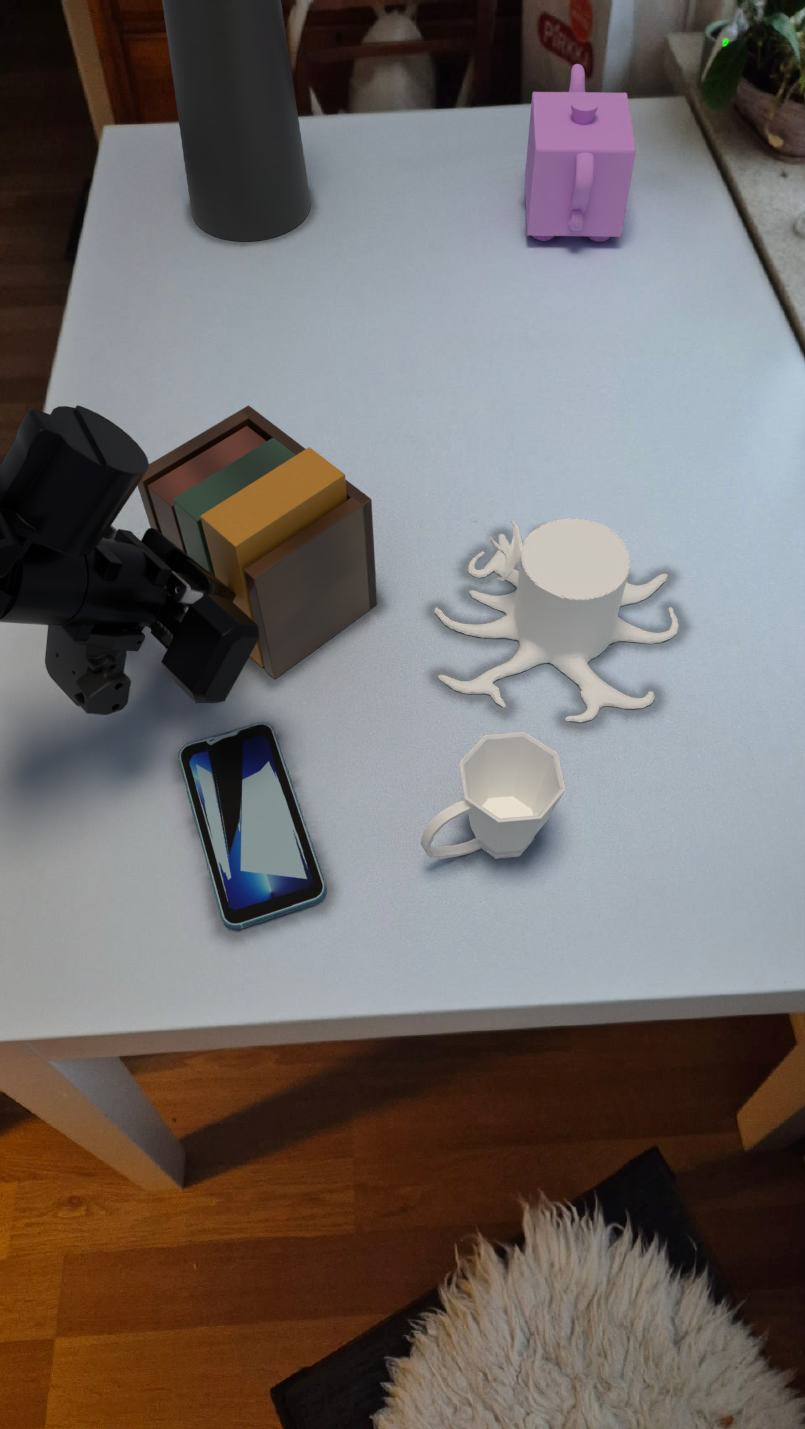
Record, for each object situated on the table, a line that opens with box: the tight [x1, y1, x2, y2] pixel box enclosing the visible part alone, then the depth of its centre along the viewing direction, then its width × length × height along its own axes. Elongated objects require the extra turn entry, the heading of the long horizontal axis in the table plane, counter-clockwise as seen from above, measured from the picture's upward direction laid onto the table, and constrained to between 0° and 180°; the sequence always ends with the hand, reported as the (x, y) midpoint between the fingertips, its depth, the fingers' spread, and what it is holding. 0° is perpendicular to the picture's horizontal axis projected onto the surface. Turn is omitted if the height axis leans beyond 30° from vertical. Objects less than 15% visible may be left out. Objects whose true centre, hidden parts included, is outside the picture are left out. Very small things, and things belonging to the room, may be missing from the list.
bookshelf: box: [137, 405, 378, 680], centre depth 79 cm, size 11×14×13 cm
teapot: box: [524, 63, 637, 243], centre depth 109 cm, size 20×10×12 cm, turn 177°
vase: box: [161, 0, 311, 242], centre depth 104 cm, size 14×14×29 cm
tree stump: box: [433, 517, 680, 723], centre depth 78 cm, size 20×19×8 cm
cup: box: [420, 731, 566, 860], centre depth 68 cm, size 7×10×8 cm
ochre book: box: [200, 446, 347, 668], centre depth 77 cm, size 10×4×14 cm, turn 133°
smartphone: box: [177, 722, 327, 930], centre depth 72 cm, size 7×1×15 cm
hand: (230, 597), depth 75 cm, fingers closed, pressing on ochre book
